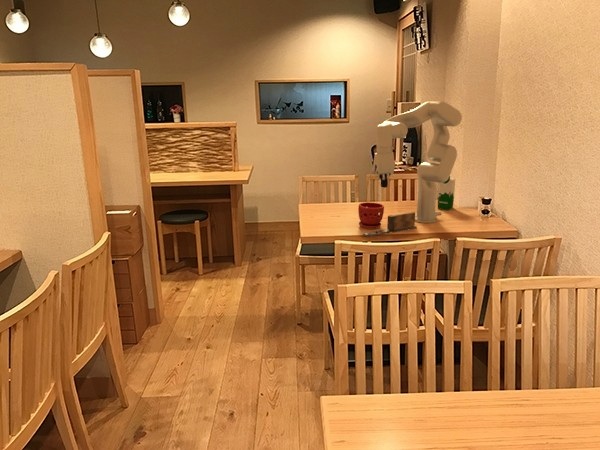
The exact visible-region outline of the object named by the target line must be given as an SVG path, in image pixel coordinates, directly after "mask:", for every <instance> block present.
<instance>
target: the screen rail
mask: <svg viewBox="0 0 600 450" xmlns="http://www.w3.org/2000/svg"><path fill="white" fill-rule="evenodd" d="M417 227H418V226H417V225H415V226H409V227H404V228H398V229H394V230H388V229H382V230H376V231H371V232H364V233H363V236H364V237H365V238H369V237H373V236H381V235H386V234H385V233H387V234H391V233H390V232H393V233H397V231H398V232H403V230H404V231H408V229H410V230H414V228H415V229H417Z"/></svg>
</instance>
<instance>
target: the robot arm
mask: <svg viewBox="0 0 600 450" xmlns="http://www.w3.org/2000/svg"><path fill="white" fill-rule="evenodd" d="M462 118H463V117H462V113H461V112H460V110H458V109H457V108H456V107H454V106H453V105H451V104H449V103H448V102H445V101H439V100H438V101H437V100H434V101H433V100H428V101H426V102H424V103H422V104H420V105H419V106H417V107H416V108H414V109H411V110H410V111H406V112H404V113H399V114H397V115H394V116H392V117H390V118H388V119H386V120H385V121H383V122H382V123H381V124H378V125H377V126H376V152H375V153H374V158H373V166H372V171H373V173H374V177H378V178H379V179H380V187H381V188H385V189H386V188H388V185H389V184H388V180H389V179H390V177H391V176H393V175H394V174H395V173H394V172H395V155H394V152H393V150H394V149H395V147H394V146H393V139H402V138H404V137H406V136H407V134H408V131H409V129H413V128H416V127H420V126H421V125H423V124H425V123H426V122H427V121H431V125H432V127H433V135H432V139H431V141H430V143H429V146H428V148H427V149H428V150H427V152H426V158H427V160H429V161H431V162H429V161H427V162H426V161H425V162H422V163H420V164H419V165H418V167H417V170H416V175H417V180H418V182H417V183H418V186H417V203H416V206H417V208H416V215H415V223H416V222H417V223H421V224H432V223H433V224H435V223H437V222H438V216H439V217H440V216H442V215H443V214H442V212H441V211H439V212H437V211H436V202H437V200H436V199H437V185H436V183H438V184H439V183H444V182H446V181H447V180H448V178H449V176H450V175H451V173H452V171H453V168H454V165H455V163H456V160H457V156H458V151H457V149H456V147H455V146H453V145H451V144H449V142H450V137H451V136H450V131H449V129H448V127H450V128H452V127H457V126H459V125H460V124H461V122H462ZM435 162H436V163H435ZM450 177H451V176H450Z"/></svg>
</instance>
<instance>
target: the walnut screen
mask: <svg viewBox="0 0 600 450" xmlns="http://www.w3.org/2000/svg"><path fill="white" fill-rule="evenodd" d="M415 216H416V212H414V211H413V212H412V211H411V212H405V213H399V214H391V215H387V223H386V225H387V227H386V228H387V229H388V230H394V229H398V228H404V227H409V226H416V224H415V223H416V221H415ZM387 229H386V230H387Z"/></svg>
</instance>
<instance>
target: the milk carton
mask: <svg viewBox="0 0 600 450" xmlns="http://www.w3.org/2000/svg"><path fill="white" fill-rule="evenodd" d="M455 186H456V178H454V177H451V176H449V178H448V180H447V181H446V182H444V183H438V192H437V210H444V211H451V210H452V209H453V208H454V203H455V202H454V201H455V191H456V190H455V188H456V187H455Z"/></svg>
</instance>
